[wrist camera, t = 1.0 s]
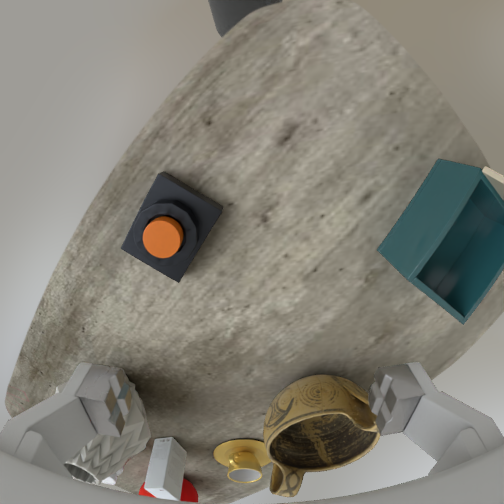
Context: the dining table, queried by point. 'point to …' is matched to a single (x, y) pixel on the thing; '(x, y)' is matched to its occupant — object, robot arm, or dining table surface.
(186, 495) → the tomato
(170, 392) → the dining table surface
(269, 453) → the ceramic bowl
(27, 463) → the robot arm
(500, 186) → the beige flat rectangular panel
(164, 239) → the flush button
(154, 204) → the push button housing
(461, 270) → the teal hollow open box
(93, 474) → the vase
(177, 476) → the cosmetic box
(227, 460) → the cup
